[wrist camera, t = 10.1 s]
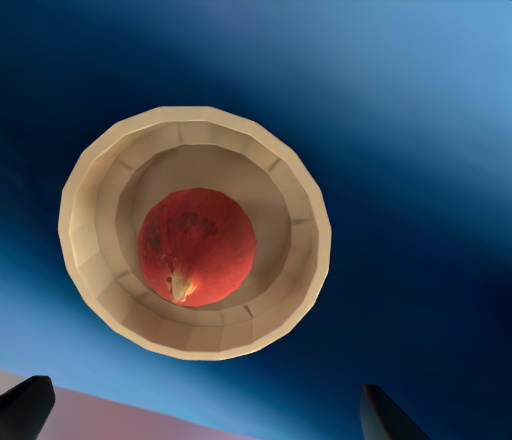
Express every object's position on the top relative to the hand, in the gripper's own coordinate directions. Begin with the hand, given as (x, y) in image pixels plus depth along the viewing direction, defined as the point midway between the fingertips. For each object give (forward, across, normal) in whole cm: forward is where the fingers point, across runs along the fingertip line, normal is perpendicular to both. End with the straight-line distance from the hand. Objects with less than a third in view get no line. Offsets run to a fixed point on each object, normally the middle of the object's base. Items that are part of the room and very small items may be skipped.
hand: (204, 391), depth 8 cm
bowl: (+12, +2, -2) cm, 12 cm away
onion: (+11, +2, -2) cm, 11 cm away
